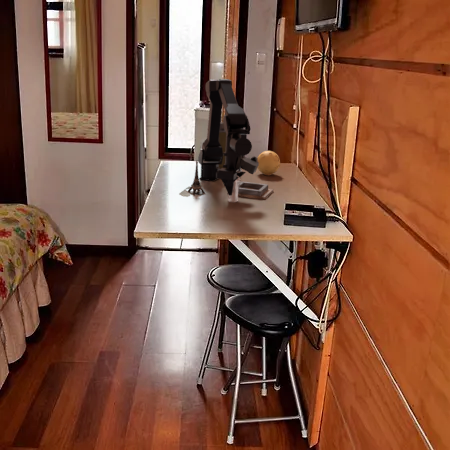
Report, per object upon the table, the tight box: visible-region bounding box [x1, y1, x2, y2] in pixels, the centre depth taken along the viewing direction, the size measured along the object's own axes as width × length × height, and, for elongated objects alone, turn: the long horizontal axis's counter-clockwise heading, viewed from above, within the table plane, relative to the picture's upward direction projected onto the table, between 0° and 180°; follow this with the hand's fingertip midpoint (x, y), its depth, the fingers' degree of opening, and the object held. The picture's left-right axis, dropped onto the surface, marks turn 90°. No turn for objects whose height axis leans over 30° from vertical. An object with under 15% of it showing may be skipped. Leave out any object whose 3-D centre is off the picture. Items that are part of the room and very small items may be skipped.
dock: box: [226, 181, 274, 200], centre depth 207 cm, size 14×12×3 cm
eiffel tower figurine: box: [178, 160, 207, 200], centre depth 203 cm, size 15×10×13 cm
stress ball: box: [257, 150, 281, 176], centre depth 234 cm, size 10×10×10 cm
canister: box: [219, 121, 227, 169], centre depth 238 cm, size 11×10×20 cm
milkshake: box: [227, 176, 241, 203], centre depth 195 cm, size 4×5×10 cm
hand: (232, 193), depth 195 cm, fingers closed on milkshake, 4 cm apart
